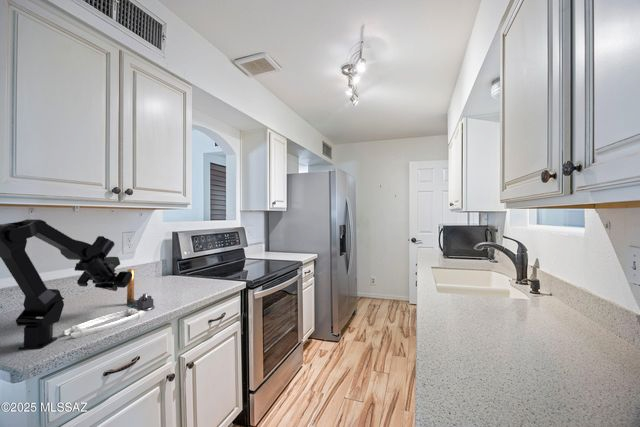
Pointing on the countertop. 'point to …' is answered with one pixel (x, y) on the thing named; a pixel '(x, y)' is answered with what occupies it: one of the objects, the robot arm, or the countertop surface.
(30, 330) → the robot arm
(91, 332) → the door handle
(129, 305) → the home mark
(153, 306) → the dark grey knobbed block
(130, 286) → the l-shaped piece
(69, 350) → the countertop surface
